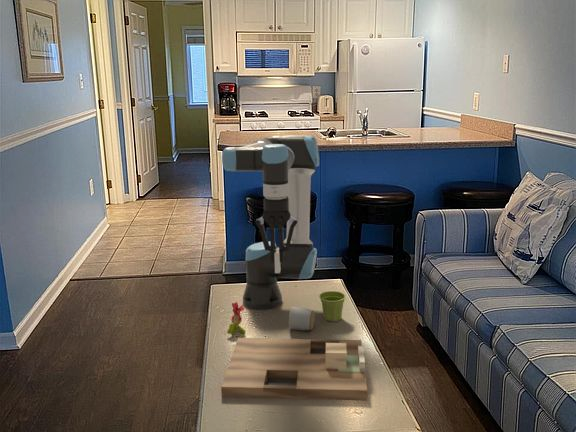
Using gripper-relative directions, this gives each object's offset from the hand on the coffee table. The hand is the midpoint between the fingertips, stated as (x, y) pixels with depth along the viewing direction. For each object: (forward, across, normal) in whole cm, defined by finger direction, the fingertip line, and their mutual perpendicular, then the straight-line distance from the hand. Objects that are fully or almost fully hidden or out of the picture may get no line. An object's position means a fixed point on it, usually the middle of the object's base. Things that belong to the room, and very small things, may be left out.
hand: (277, 271), depth 171 cm
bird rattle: (+27, -16, +12) cm, 33 cm away
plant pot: (+27, +17, +24) cm, 40 cm away
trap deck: (+26, +6, -13) cm, 30 cm away
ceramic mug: (+27, +6, +16) cm, 32 cm away
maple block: (+23, +18, -14) cm, 32 cm away
